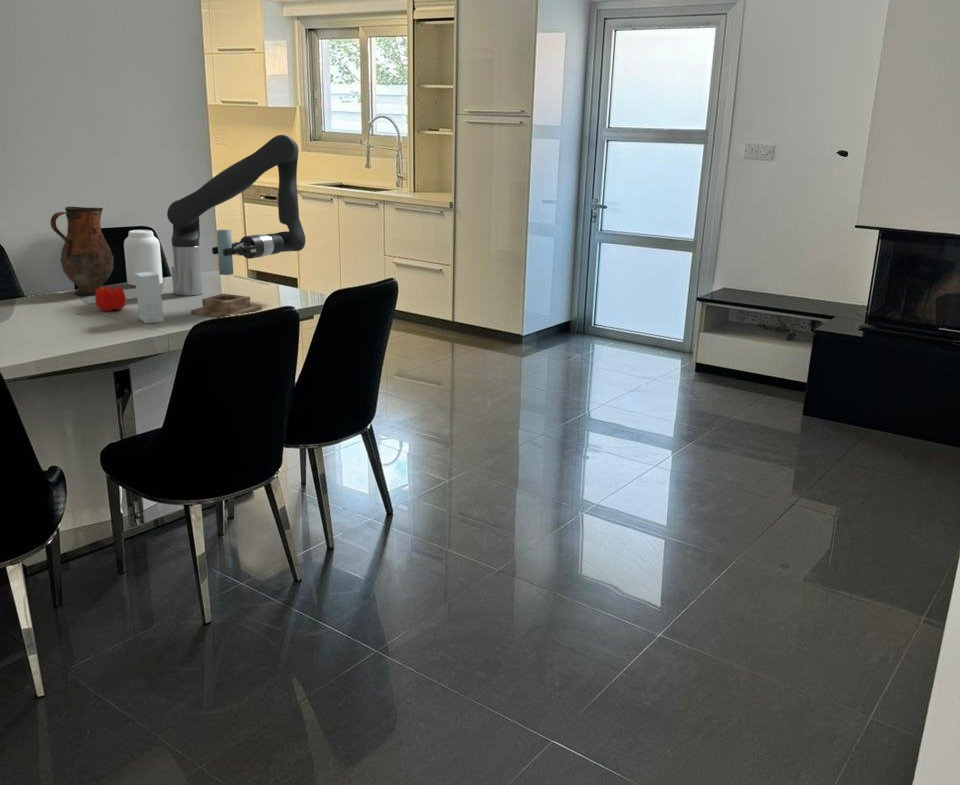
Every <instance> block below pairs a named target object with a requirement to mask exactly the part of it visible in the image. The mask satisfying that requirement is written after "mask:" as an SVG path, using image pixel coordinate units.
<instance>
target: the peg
mask: <svg viewBox="0 0 960 785" xmlns="http://www.w3.org/2000/svg"><path fill="white" fill-rule="evenodd" d="M216 240H217V242H216V244H217V247H218V254H217V256H218V257H217V258H218V271H219V272H218V274H219V275H221V276H229V275H230V276H231V275H234V262H233V255H229V256H224V255H223V249H226V248H232V243H233V242H232V231H231V230H230V229H217V230H216Z"/></svg>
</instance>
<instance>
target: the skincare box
mask: <svg viewBox="0 0 960 785" xmlns="http://www.w3.org/2000/svg"><path fill="white" fill-rule="evenodd" d="M134 276H135V284H136V286H135V291H136V299H137V300H136V301H137V306H138V307H137V308H138V316H139V320H140V321H142V322H143V323H144V324H151V323H152V324H153V323H164V322H165V317H164V310H163V309H164V308H163V302H162V301H163V299H162V294H161V292H162V291H161V284H160V283H159V275H158V274H156V273H154V272H141V273H134Z"/></svg>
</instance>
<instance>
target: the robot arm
mask: <svg viewBox="0 0 960 785" xmlns="http://www.w3.org/2000/svg"><path fill="white" fill-rule="evenodd" d="M298 160H299V146H298V144H297V142H296V141H295V140H294V139H293V138H292V137H290V136H289V135H285V134H278V135H275V136H274V137H272V138H271V139H270V140H268V141H267V142H266V143H265V144H264V145H262V146H261V147H260V148H259V149H257V150H256V151H255V152H253V153H252V154H250V155H248V156H246V157H244V158H242V159H241V160H238V161H237V162H235V163H233V164H232V165H230V166H228V167H227V168H225V169H223V170H222V171H220V172H219V173H218V174H216V175H215V176H214V177H212V178H211V179H209V180H208V181H207V182H206V183H205V184H203V185H202V186H201V187H200V188H199V189H197V190H195V191H193V192H192V193H190V194H188V195H186V196H184V197H182V198H180V199H178V200H175V201H173V202H171V203H170V205H169V206H168V208H167V212H166V216H167V219H168V222H169V223H171V224H172V235H171V236H172V237H171V250H172V261H173V264H172V266H171V269H170V270H171V280H172V282H171V283H172V292H173V294H174V295H175V294H176V295H178V296H197V295H202V294H203V280H202V279H203V278H202V265H201V264H202V263H201V252H200V251H201V248H200V236H201V233H200V232H201V230H200V228H201V227H200V216H202V215H203V214H204V213H206V212H208V210H210V209H212V208H214V207H217V206H219V205H221V204H224V203H225V202H227V201H229V200H231V199H233V198H235V197H237V196H239V194H241V193H243V192H244V191H246V190H247V189H249V188H250V187H251V186H252V185H254V183H256V181H258V179H260V177H261V176H262V175H263V174H264V173H266V172H268V171H269V170H271V169H273V168H274V167H277V170H278V191H277V209H278V211H277V212H278V220H279V223H280V224H282V225H286V226H287V229H288V230H287V231H278V232H275V233H265V234H252V235H245V236H243V237H241V239H240V241H235V242H232V248H226V249H223V255H224V256H229V255H232V256H241V257H242V256H243V257H244V258H245V259H247V260H248V259H249V260H251V259H256V258H262V257H263V258H264V257H267V256H271V255H277V254H279V253H282V252H301V251H302V250H303V249H304V248H305V246H306V234H305V232H304V228H303V225H302V222H301V220H300V211H299V210H300V209H299V198H298V187H297V186H298V184H297V183H298V182H297V179H298V178H297V174H298ZM211 253H212V255H218V246H213V247H211Z"/></svg>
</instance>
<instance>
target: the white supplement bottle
mask: <svg viewBox="0 0 960 785" xmlns="http://www.w3.org/2000/svg"><path fill="white" fill-rule="evenodd" d="M127 235H128V236H127V237H126V238H125V239H124V241H123V248H124V249H123V250H124V251H123V252H124V259H125V270H126V280H127V285H130V286H133V287H136V284H135V276H134V273H141V272H154V273H156V274H158V275H159V283H160V285H161V284H163V279H164V278H163V267H162V266H163V265H162V256H161V244H160V240H159V239H158V238H157V237H156V236H154V232H153V230H150V229H133V230H129V231H128V234H127Z"/></svg>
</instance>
